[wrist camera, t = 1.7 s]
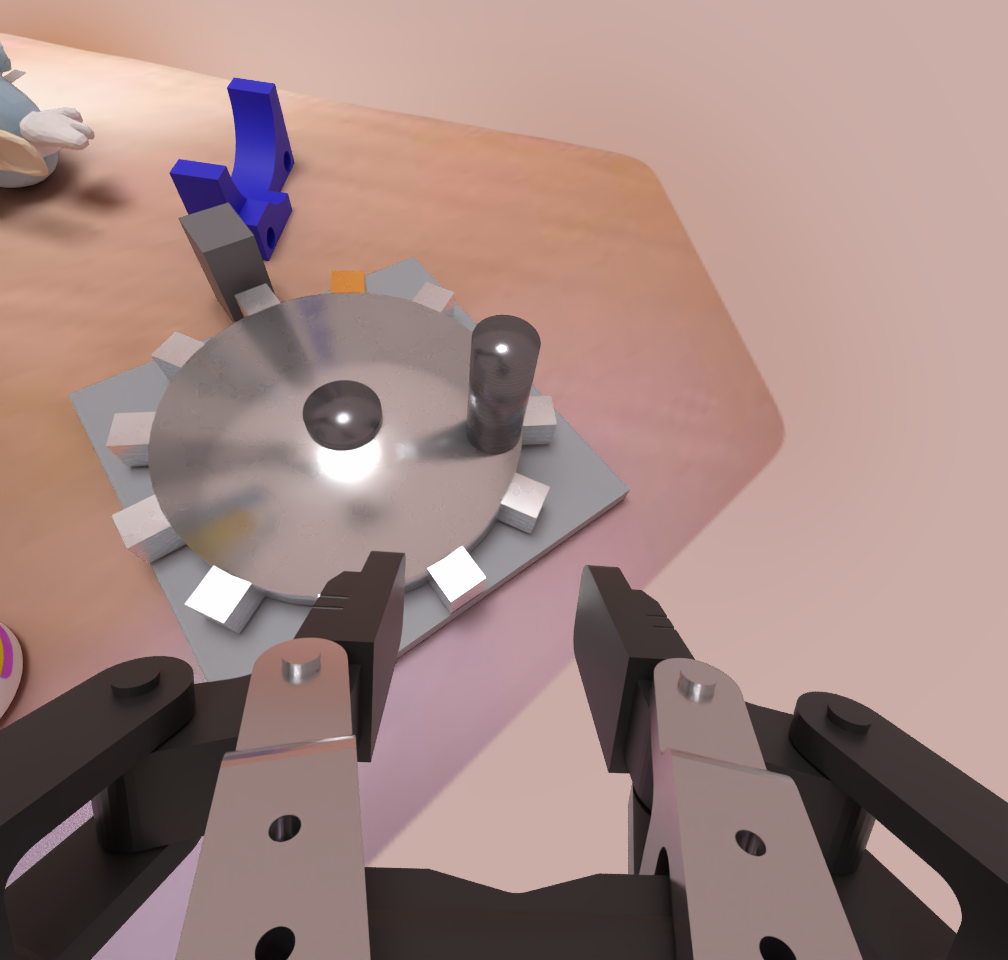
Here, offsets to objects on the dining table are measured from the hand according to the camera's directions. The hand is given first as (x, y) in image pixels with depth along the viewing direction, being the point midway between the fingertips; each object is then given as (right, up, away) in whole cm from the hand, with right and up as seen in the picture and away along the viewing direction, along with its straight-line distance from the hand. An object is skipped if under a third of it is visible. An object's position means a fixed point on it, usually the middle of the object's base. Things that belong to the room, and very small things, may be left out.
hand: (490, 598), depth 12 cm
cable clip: (-18, +24, +30) cm, 43 cm away
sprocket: (-8, +5, +19) cm, 21 cm away
